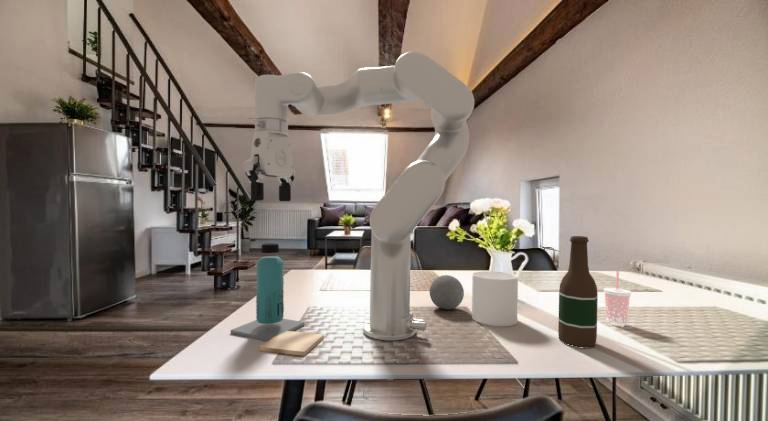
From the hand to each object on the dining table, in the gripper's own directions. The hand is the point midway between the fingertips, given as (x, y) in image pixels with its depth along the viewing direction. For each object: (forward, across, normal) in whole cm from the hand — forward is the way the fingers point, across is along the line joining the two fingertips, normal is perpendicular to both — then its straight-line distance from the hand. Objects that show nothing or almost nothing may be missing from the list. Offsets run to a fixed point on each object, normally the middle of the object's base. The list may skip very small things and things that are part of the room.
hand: (271, 200), depth 86 cm
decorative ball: (+32, +36, -34) cm, 59 cm away
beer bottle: (+32, +23, -67) cm, 78 cm away
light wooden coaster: (+31, -5, -10) cm, 33 cm away
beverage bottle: (+30, 0, 0) cm, 30 cm away
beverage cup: (+32, +42, -78) cm, 94 cm away
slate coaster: (+31, 0, +1) cm, 31 cm away
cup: (+32, +32, -48) cm, 66 cm away
